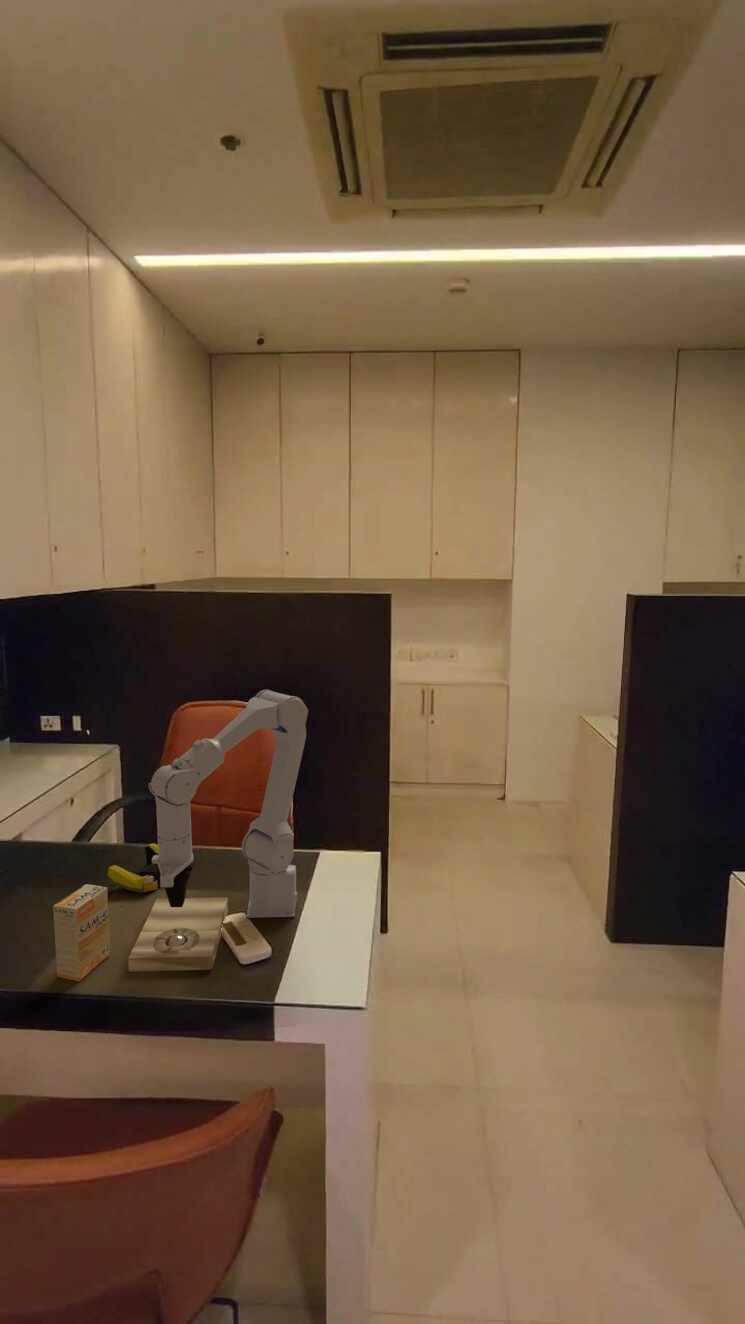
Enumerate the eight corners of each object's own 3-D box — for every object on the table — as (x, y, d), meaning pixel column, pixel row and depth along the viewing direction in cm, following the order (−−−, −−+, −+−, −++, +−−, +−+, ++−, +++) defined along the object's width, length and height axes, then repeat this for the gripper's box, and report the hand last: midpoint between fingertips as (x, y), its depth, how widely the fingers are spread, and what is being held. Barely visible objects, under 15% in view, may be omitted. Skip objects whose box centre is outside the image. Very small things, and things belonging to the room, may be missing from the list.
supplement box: (80, 983, 112) (76, 910, 110) (56, 977, 114) (51, 905, 112) (112, 955, 120) (108, 886, 118) (89, 950, 121) (85, 882, 119)
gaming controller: (103, 892, 142) (142, 902, 139) (102, 867, 141) (140, 877, 138) (151, 862, 156) (187, 870, 152) (150, 840, 155) (186, 847, 151)
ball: (167, 958, 120) (185, 954, 122) (173, 951, 118) (190, 947, 120) (164, 941, 122) (181, 937, 124) (169, 933, 120) (186, 929, 122)
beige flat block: (157, 910, 135) (156, 898, 135) (228, 908, 136) (227, 897, 136) (128, 971, 116) (128, 958, 115) (211, 969, 117) (211, 956, 116)
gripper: (161, 817, 126) (164, 885, 128) (140, 852, 111) (143, 928, 114) (199, 817, 126) (201, 885, 128) (183, 851, 112) (186, 927, 114)
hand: (177, 905), depth 121 cm, fingers closed
